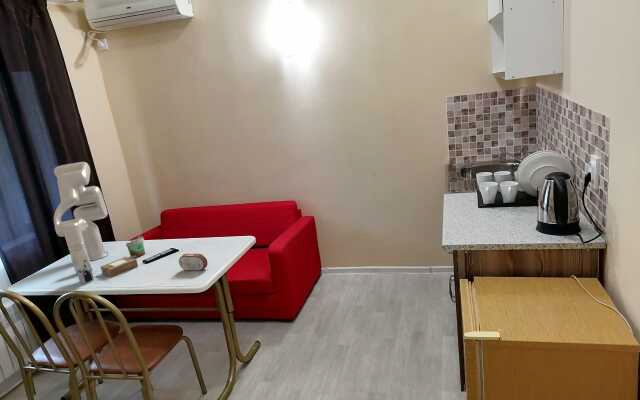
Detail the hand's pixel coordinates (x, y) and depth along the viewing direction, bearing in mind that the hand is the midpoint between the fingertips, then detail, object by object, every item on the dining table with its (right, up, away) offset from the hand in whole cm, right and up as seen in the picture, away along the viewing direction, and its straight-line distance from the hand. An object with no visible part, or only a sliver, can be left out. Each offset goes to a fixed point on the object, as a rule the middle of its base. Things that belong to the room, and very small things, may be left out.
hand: (86, 279), depth 236 cm
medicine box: (-9, +1, +16) cm, 18 cm away
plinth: (+13, +4, +9) cm, 17 cm away
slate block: (0, -1, 0) cm, 1 cm away
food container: (+16, +9, +29) cm, 35 cm away
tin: (+58, +6, -9) cm, 58 cm away
